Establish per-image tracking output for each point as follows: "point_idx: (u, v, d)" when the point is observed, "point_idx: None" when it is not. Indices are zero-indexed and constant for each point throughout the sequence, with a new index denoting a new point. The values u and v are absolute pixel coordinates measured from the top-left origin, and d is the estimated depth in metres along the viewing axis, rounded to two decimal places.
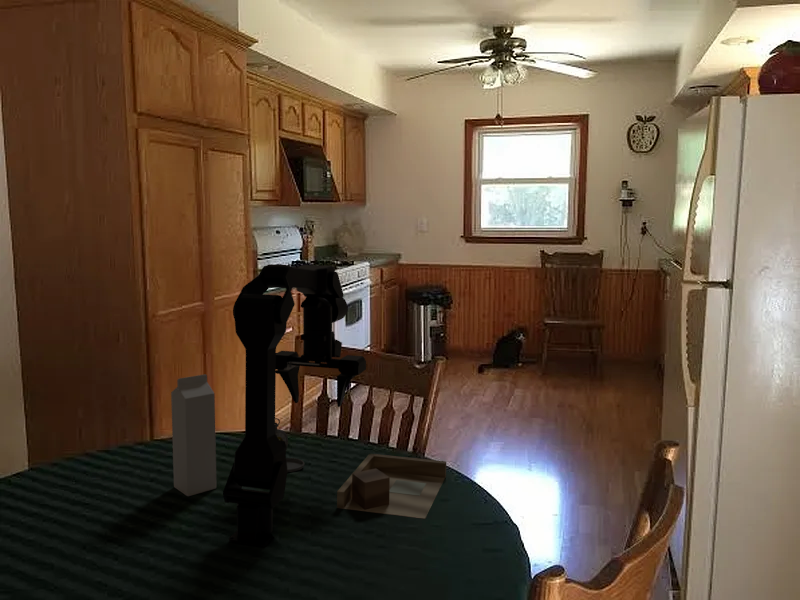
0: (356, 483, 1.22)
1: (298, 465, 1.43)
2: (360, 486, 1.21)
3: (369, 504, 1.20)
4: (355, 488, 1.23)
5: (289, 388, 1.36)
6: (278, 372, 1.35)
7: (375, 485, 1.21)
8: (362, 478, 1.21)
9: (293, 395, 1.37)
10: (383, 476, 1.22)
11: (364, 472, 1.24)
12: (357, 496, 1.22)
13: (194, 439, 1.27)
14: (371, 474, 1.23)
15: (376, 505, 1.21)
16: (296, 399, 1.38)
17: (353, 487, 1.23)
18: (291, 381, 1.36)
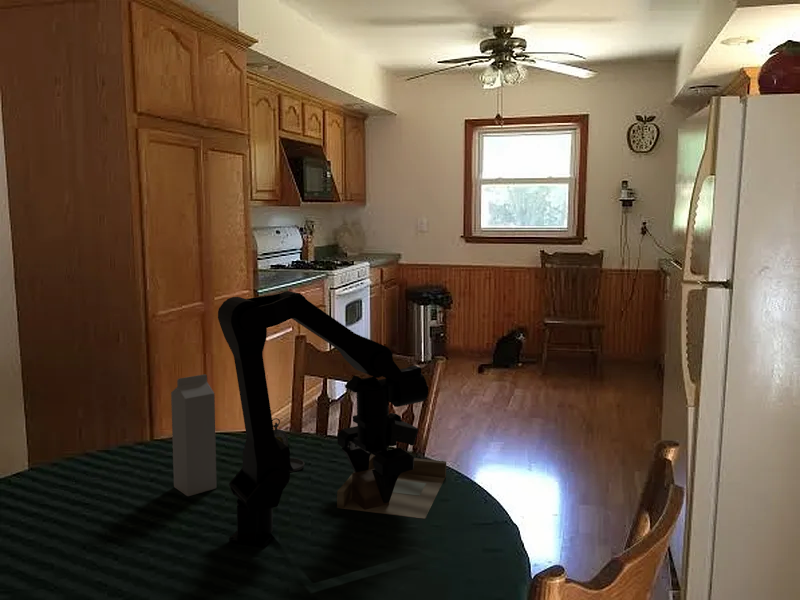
0: (356, 483, 1.22)
1: (298, 465, 1.43)
2: (360, 486, 1.21)
3: (369, 504, 1.20)
4: (355, 488, 1.23)
5: (353, 469, 1.27)
6: (342, 450, 1.27)
7: (375, 485, 1.21)
8: (362, 478, 1.21)
9: None
10: None
11: (364, 472, 1.24)
12: (357, 496, 1.22)
13: (194, 439, 1.27)
14: (371, 474, 1.23)
15: (376, 505, 1.21)
16: None
17: (353, 487, 1.23)
18: (353, 462, 1.26)
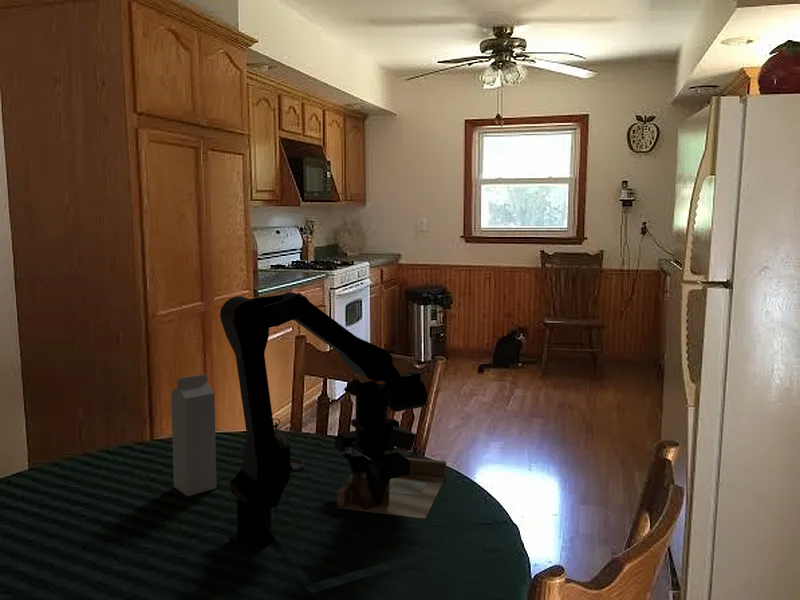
0: (356, 483, 1.22)
1: (298, 465, 1.43)
2: (360, 486, 1.21)
3: (369, 504, 1.20)
4: (355, 488, 1.23)
5: None
6: (343, 456, 1.26)
7: None
8: (362, 478, 1.22)
9: None
10: None
11: (364, 472, 1.24)
12: (357, 496, 1.22)
13: (194, 439, 1.27)
14: None
15: (376, 505, 1.21)
16: None
17: (353, 487, 1.23)
18: (354, 469, 1.24)
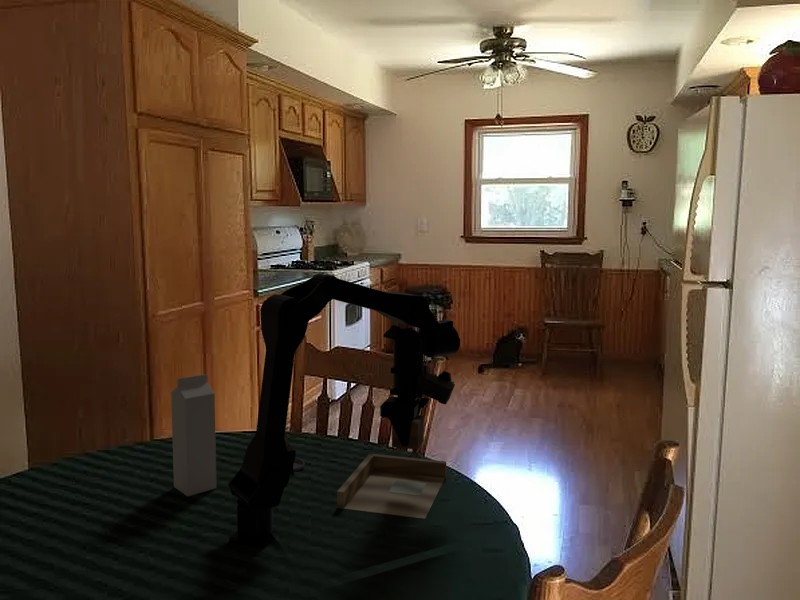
0: None
1: (298, 465, 1.43)
2: None
3: (396, 443, 1.27)
4: None
5: None
6: None
7: None
8: None
9: None
10: (415, 421, 1.26)
11: None
12: None
13: (194, 439, 1.27)
14: None
15: (404, 446, 1.26)
16: None
17: None
18: None
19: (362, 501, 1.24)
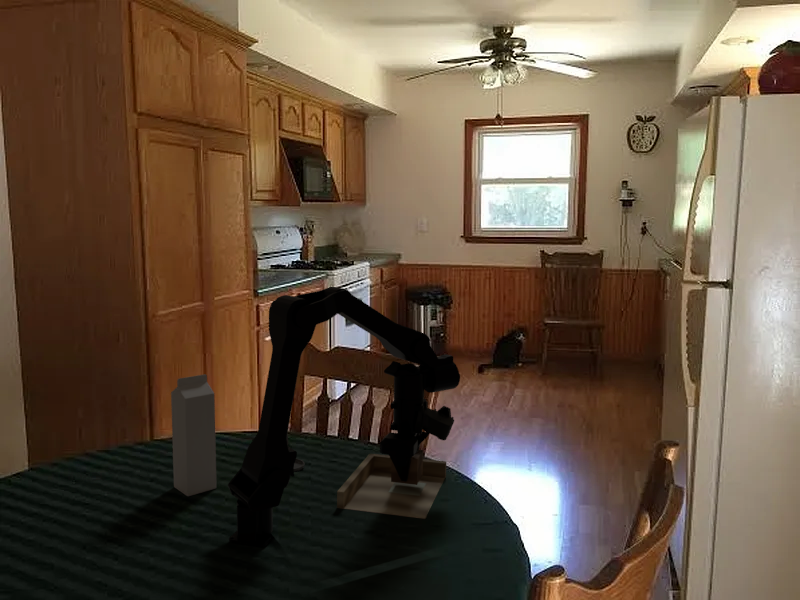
0: None
1: (298, 465, 1.43)
2: None
3: (395, 478, 1.28)
4: None
5: None
6: None
7: None
8: None
9: None
10: (414, 456, 1.27)
11: None
12: None
13: (194, 439, 1.27)
14: None
15: (403, 481, 1.27)
16: None
17: None
18: None
19: (362, 501, 1.24)
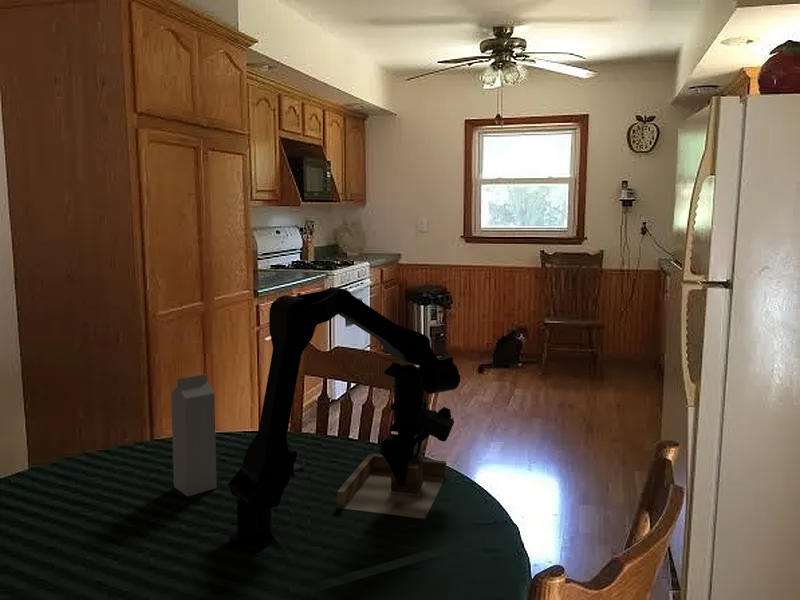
0: None
1: (298, 465, 1.43)
2: None
3: (395, 487, 1.28)
4: None
5: None
6: None
7: None
8: None
9: None
10: (414, 466, 1.27)
11: None
12: None
13: (194, 439, 1.27)
14: None
15: (403, 491, 1.28)
16: None
17: None
18: None
19: (362, 501, 1.24)
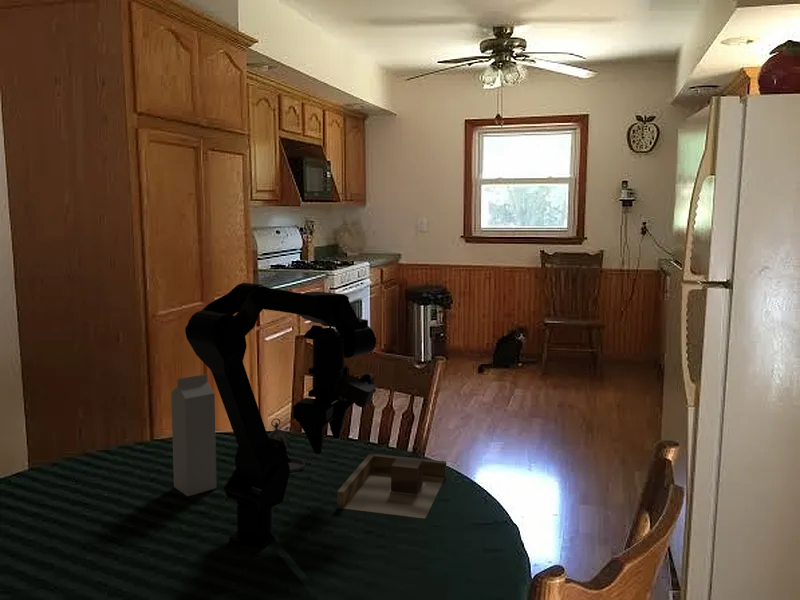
0: None
1: (298, 465, 1.43)
2: None
3: (395, 487, 1.28)
4: None
5: None
6: None
7: (402, 471, 1.27)
8: (397, 462, 1.29)
9: None
10: (414, 466, 1.27)
11: (408, 459, 1.31)
12: None
13: (194, 439, 1.27)
14: (409, 461, 1.30)
15: (403, 491, 1.28)
16: (333, 433, 1.29)
17: None
18: None
19: (362, 501, 1.24)
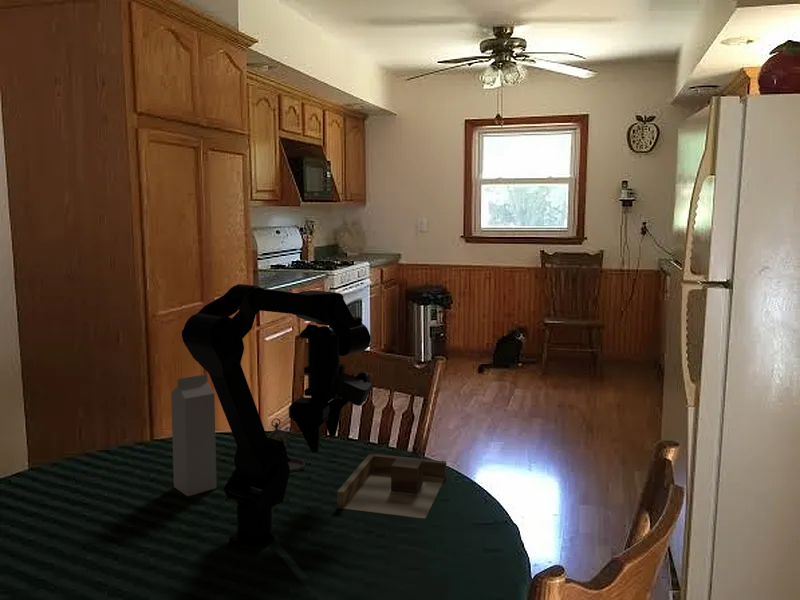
0: None
1: (299, 465, 1.43)
2: None
3: (395, 487, 1.28)
4: None
5: None
6: None
7: (402, 471, 1.27)
8: (397, 462, 1.29)
9: None
10: (414, 466, 1.27)
11: (408, 459, 1.31)
12: None
13: (194, 439, 1.27)
14: (409, 461, 1.30)
15: (403, 491, 1.28)
16: (329, 432, 1.29)
17: None
18: None
19: (362, 501, 1.24)
